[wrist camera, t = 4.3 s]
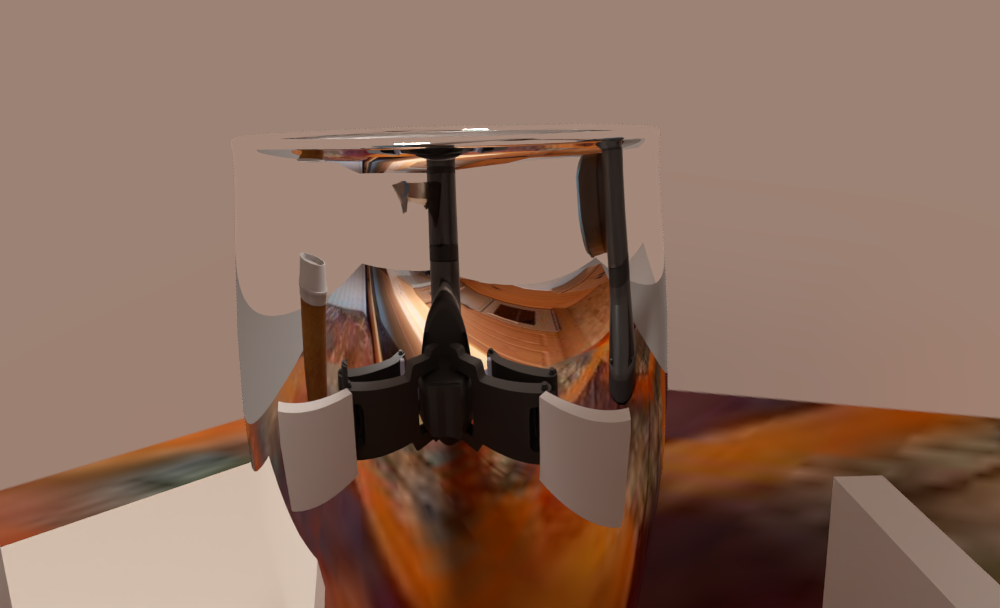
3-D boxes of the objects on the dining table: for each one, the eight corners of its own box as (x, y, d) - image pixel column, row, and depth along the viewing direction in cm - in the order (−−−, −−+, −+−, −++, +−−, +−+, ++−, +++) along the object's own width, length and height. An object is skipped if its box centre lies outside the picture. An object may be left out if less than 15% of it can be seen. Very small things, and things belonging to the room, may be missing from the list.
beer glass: (436, 713, 21) (406, 125, 17) (698, 830, 17) (730, 121, 14) (222, 953, 15) (108, 140, 11) (552, 1203, 11) (540, 141, 8)
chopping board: (377, 450, 37) (375, 420, 36) (594, 557, 28) (594, 518, 27) (-274, 692, 22) (-288, 645, 22) (-272, 1092, 13) (-296, 1024, 13)
